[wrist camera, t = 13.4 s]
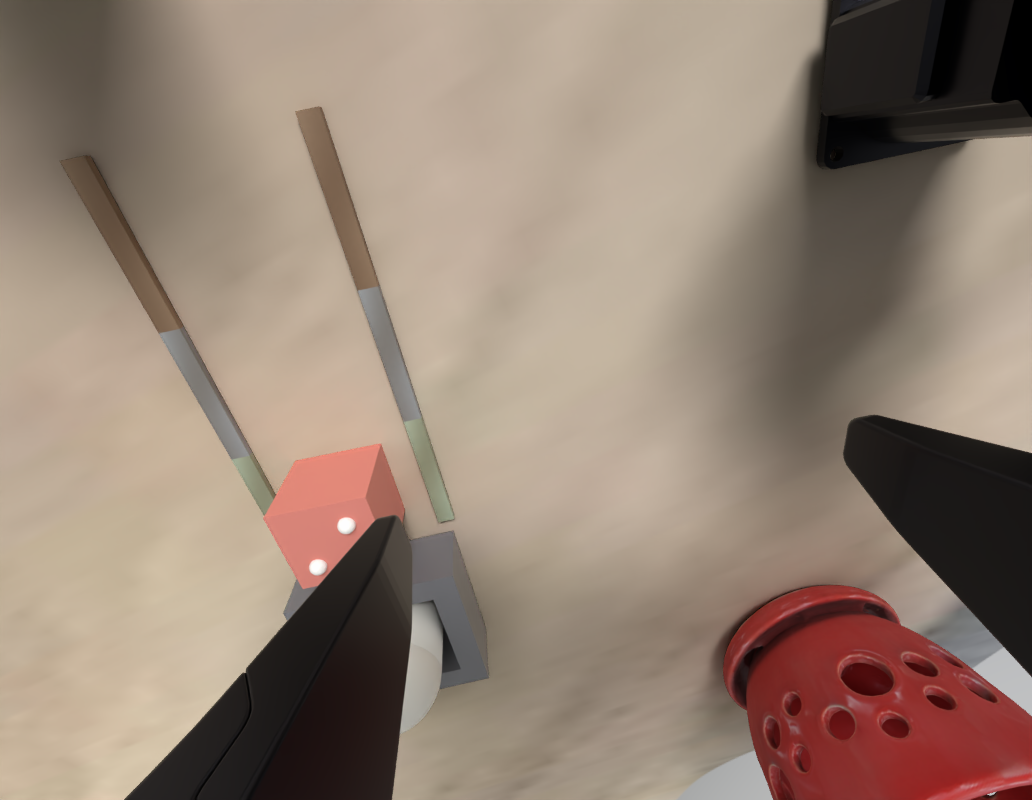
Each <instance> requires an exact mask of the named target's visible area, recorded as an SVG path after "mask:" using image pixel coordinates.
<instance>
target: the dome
mask: <svg viewBox="0 0 1032 800" xmlns="http://www.w3.org/2000/svg"><path fill="white" fill-rule="evenodd" d="M442 652H443V623H442V620H441V618H440V615H439V613H438V610H437V608H436V605H435V603H434V600H430V601H426V602H421V603H417V604H412V634H411V644H410V652H409V661H408V669H407V677H406V686H405V694H404V702H403V711H402V719H401V728H400V734H401V733H404V732H406V731H408V730H409V729H411V728H412V727H414V726H415V725H416V724H418V723H419V722H420V721H421V720H422V719H423V718H424V717H425V715H426V714H427V713H428V711H429V710H430V709H431V707H432V705H433V703H434V701H435V699H436V697H437V694H438V691H439V688H440V684H441V675H442Z"/></svg>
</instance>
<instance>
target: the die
mask: <svg viewBox="0 0 1032 800" xmlns="http://www.w3.org/2000/svg"><path fill="white" fill-rule="evenodd" d="M404 512H405V508H404V506H403V503H402V500H401V498H400V495H399V492H398V489H397V487H396V484H395V481H394V478H393V476H392V473H391V470H390V467H389V465H388V462H387V459H386V456H385V454H384V451H383V448H382V445H381V444H376V445H371V446H366V447H361V448H356V449H351V450H346V451H341V452H337V453H332V454H327V455H322V456H317V457H312V458H307V459H302V460H297V461H295V462H294V464H293V466H292V468H291V470H290V471H289V473H288V475H287V477H286V478H285V480H284V482H283V484H282V486H281V487H280V489H279V491H278V493H277V495H276V496H275V498H274V500H273V502H272V503H271V505H270V507H269V509H268V511H267V512H266V514H265V516H264V518H263V519H264V521H265V522H266V524H267V526H268V528H269V530H270V531H271V533H272V535H273V537H274V539H275V540H276V542H277V544H278V546H279V547H280V549H281V551H282V553H283V555H284V556H285V558H286V560H287V562H288V564H289V565H290V567H291V569H292V571H293V573H294V574H295V576H296V578H297V580H298V582H299V583H300V585H301V587H302V589H306V588H310V587H315V586H318V585H319V584H320V583H321V582H322V581H323V579H324V578H325V577H326V576H327V575H328V574H329V572H330V571H331V570H332V569H333V568H334V567H335V566H336V564H337V563H338V562H339V561H340V560H341V559H342V557H343V556H344V555H345V554H346V553H347V552H348V551H349V549H350V548H351V547H352V546H353V545H354V544H355V542H356V541H357V540H358V539H359V538H360V537H361V536H362V534H363V533H364V532H365V531H366V530H367V529H368V528H369V526H370V525H371V524H372V523H373V522H374V521H375V520H376V519H377V518H380V517H385V516H390V515H397V516H398V517H399V518H400V520H401V522H402V524H403V518H404Z"/></svg>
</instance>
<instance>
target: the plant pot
mask: <svg viewBox="0 0 1032 800" xmlns="http://www.w3.org/2000/svg"><path fill="white" fill-rule="evenodd" d="M723 675H724V681H725V685H726V688H727V690H728V692H729V694H730V696H731V697H732V699H733V700H734V701H735V702H736V703H737V704H738V705H739V706H740V707H742V708H743V709H745V710H747V714H748V721H749V727H750V732H751V736H752V740H753V745H754V748H755V752H756V755H757V758H758V761H759V763H760V765H761V768H762V770H763V773H764V776H765V778H766V781H767V783H768V786H769V789H770V792H771V795H772V798H773V800H1032V716H1031V715H1029V714H1028V713H1027V712H1026V711H1025V710H1024V709H1022V708H1021V707H1020V706H1019V705H1017V704H1016V703H1015V702H1014V701H1013V700H1011V699H1010V698H1009V697H1007V696H1006V695H1005V694H1003V693H1002V692H1001V691H999V690H998V689H997V688H996V687H994V686H993V685H992V684H990V683H989V682H988V681H986V680H985V679H984V678H983V677H982V676H980V675H979V674H978V673H976V672H975V671H974V670H973V669H972V668H970V667H969V666H968V665H966V664H965V663H964V662H962V661H961V660H960V659H958V658H957V657H955V656H954V655H952V654H951V653H949V652H948V651H946V650H945V649H943V648H942V647H940V646H939V645H937V644H935V643H934V642H932V641H930V640H928V639H927V638H925V637H923V636H921V635H919V634H918V633H916V632H914V631H912V630H910V629H908V628H905V627H903V626H901V624H900V621H899V618H898V616H897V614H896V613H895V611H894V610H893V608H892V607H891V606H890V605H889V604H888V603H887V602H886V601H884V600H883V599H882V598H880V597H878V596H877V595H875V594H873V593H870V592H868V591H865V590H862V589H858V588H855V587H849V586H840V585H824V586H814V587H808V588H804V589H800V590H796V591H794V592H791V593H788V594H785V595H783V596H781V597H779V598H777V599H775V600H773V601H771V602H769V603H768V604H766V605H765V606H763V607H762V608H760V609H759V610H758V611H756V612H755V613H754V614H753V615H752V616H750V617H749V618H748V619H747V620H746V621H745V622H744V623H743V624H742V625H741V626H740V628H739V629H738V631H737V632H736V634H735V635H734V637H733V638H732V640H731V642H730V644H729V646H728V648H727V651H726V654H725V658H724V665H723ZM993 792H996V793H995V794H994V795H991V796H989V795H987V794H990V793H993Z"/></svg>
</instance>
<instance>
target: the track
mask: <svg viewBox="0 0 1032 800" xmlns="http://www.w3.org/2000/svg"><path fill="white" fill-rule="evenodd" d="M295 112H296V115H297V118H298V121H299V124H300V127H301V130H302V132H303V135H304V138H305V141H306V144H307V147H308V150H309V152H310V155H311V158H312V161H313V164H314V167H315V170H316V172H317V175H318V178H319V181H320V184H321V187H322V190H323V193H324V195H325V198H326V201H327V204H328V207H329V210H330V213H331V215H332V218H333V221H334V224H335V227H336V230H337V233H338V235H339V238H340V241H341V244H342V247H343V250H344V253H345V256H346V258H347V261H348V264H349V267H350V270H351V273H352V276H353V278H354V281H355V284H356V287H357V290H358V293H359V296H360V298H361V301H362V304H363V307H364V310H365V313H366V316H367V319H368V321H369V324H370V327H371V330H372V333H373V336H374V339H375V341H376V344H377V347H378V350H379V353H380V356H381V359H382V361H383V364H384V367H385V370H386V373H387V376H388V379H389V382H390V384H391V387H392V390H393V393H394V396H395V399H396V402H397V404H398V407H399V410H400V413H401V416H402V419H403V422H404V424H405V427H406V430H407V433H408V436H409V439H410V442H411V445H412V447H413V450H414V453H415V456H416V459H417V462H418V465H419V467H420V470H421V473H422V476H423V479H424V482H425V485H426V487H427V490H428V493H429V496H430V499H431V502H432V505H433V508H434V510H435V513H436V516H437V519H438V522H443V521H447V520H452V519H454V513H453V510H452V507H451V504H450V501H449V497H448V494H447V491H446V488H445V485H444V482H443V479H442V476H441V473H440V470H439V467H438V464H437V461H436V457H435V454H434V451H433V448H432V445H431V442H430V439H429V436H428V433H427V430H426V427H425V424H424V421H423V418H422V414H421V411H420V408H419V405H418V402H417V399H416V396H415V393H414V390H413V387H412V384H411V381H410V378H409V374H408V371H407V368H406V365H405V362H404V359H403V356H402V353H401V350H400V347H399V344H398V341H397V338H396V335H395V331H394V328H393V325H392V322H391V319H390V316H389V313H388V310H387V307H386V304H385V301H384V298H383V295H382V292H381V288H380V285H379V282H378V279H377V276H376V273H375V270H374V267H373V264H372V261H371V258H370V255H369V252H368V248H367V245H366V242H365V239H364V236H363V233H362V230H361V227H360V224H359V221H358V218H357V215H356V212H355V209H354V205H353V202H352V199H351V196H350V193H349V190H348V187H347V184H346V181H345V178H344V175H343V172H342V169H341V166H340V162H339V159H338V156H337V153H336V150H335V147H334V144H333V141H332V138H331V135H330V132H329V129H328V126H327V122H326V119H325V116H324V113H323V110H322V107H314V108H310V109H305V110H300V111H295ZM60 163H61V164H62V166H63V168H64V170H65V171H66V173H67V175H68V177H69V178H70V180H71V182H72V184H73V185H74V187H75V189H76V190H77V192H78V194H79V196H80V197H81V199H82V201H83V203H84V204H85V206H86V208H87V210H88V211H89V213H90V215H91V216H92V218H93V220H94V222H95V223H96V225H97V227H98V229H99V230H100V232H101V234H102V236H103V237H104V239H105V241H106V242H107V244H108V246H109V248H110V249H111V251H112V253H113V255H114V256H115V258H116V260H117V262H118V263H119V265H120V267H121V269H122V270H123V272H124V274H125V275H126V277H127V279H128V281H129V282H130V284H131V286H132V288H133V289H134V291H135V293H136V295H137V296H138V298H139V300H140V301H141V303H142V305H143V307H144V308H145V310H146V312H147V314H148V315H149V317H150V319H151V321H152V322H153V324H154V326H155V328H156V329H157V331H158V333H159V334H160V336H161V338H162V340H163V341H164V343H165V345H166V347H167V348H168V350H169V352H170V354H171V355H172V357H173V359H174V360H175V362H176V364H177V366H178V367H179V369H180V371H181V373H182V374H183V376H184V378H185V380H186V381H187V383H188V385H189V386H190V388H191V390H192V392H193V393H194V395H195V397H196V399H197V400H198V402H199V404H200V406H201V407H202V409H203V411H204V413H205V414H206V416H207V418H208V419H209V421H210V423H211V425H212V426H213V428H214V430H215V432H216V433H217V435H218V437H219V439H220V440H221V442H222V444H223V445H224V447H225V449H226V451H227V452H228V454H229V456H230V458H231V459H232V461H233V463H234V465H235V466H236V468H237V470H238V471H239V473H240V475H241V477H242V478H243V480H244V482H245V484H246V485H247V487H248V489H249V491H250V492H251V494H252V496H253V498H254V499H255V501H256V503H257V504H258V506H259V508H260V510H261V511H262V513H263V515H264V516H265V514H266V512H267V511H268V509H269V507H270V505H271V503H272V502H273V500H274V498H275V496H276V495H275V493H274V491H273V489H272V488H271V486H270V484H269V482H268V480H267V479H266V477H265V475H264V473H263V471H262V469H261V468H260V466H259V464H258V462H257V460H256V458H255V457H254V455H253V453H252V451H251V449H250V447H249V446H248V444H247V442H246V440H245V438H244V436H243V435H242V433H241V431H240V429H239V427H238V425H237V424H236V422H235V420H234V418H233V416H232V414H231V413H230V411H229V409H228V407H227V405H226V403H225V402H224V400H223V398H222V396H221V394H220V392H219V391H218V389H217V387H216V385H215V383H214V381H213V380H212V378H211V376H210V374H209V372H208V371H207V369H206V367H205V365H204V363H203V361H202V360H201V358H200V356H199V354H198V352H197V350H196V349H195V347H194V345H193V343H192V341H191V339H190V338H189V336H188V334H187V332H186V330H185V328H184V327H183V325H182V323H181V321H180V319H179V317H178V316H177V314H176V312H175V310H174V308H173V306H172V305H171V303H170V301H169V299H168V297H167V295H166V294H165V292H164V290H163V288H162V286H161V284H160V283H159V281H158V279H157V277H156V275H155V273H154V272H153V270H152V268H151V266H150V264H149V263H148V261H147V259H146V257H145V255H144V253H143V252H142V250H141V248H140V246H139V244H138V242H137V241H136V239H135V237H134V235H133V233H132V231H131V230H130V228H129V226H128V224H127V222H126V220H125V219H124V217H123V215H122V213H121V211H120V209H119V208H118V206H117V204H116V202H115V200H114V198H113V197H112V195H111V193H110V191H109V189H108V187H107V186H106V184H105V182H104V180H103V178H102V176H101V175H100V173H99V171H98V169H97V167H96V165H95V164H94V162H93V160H92V158H91V156H80V157H76V158H71V159H66V160H61V161H60Z"/></svg>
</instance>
